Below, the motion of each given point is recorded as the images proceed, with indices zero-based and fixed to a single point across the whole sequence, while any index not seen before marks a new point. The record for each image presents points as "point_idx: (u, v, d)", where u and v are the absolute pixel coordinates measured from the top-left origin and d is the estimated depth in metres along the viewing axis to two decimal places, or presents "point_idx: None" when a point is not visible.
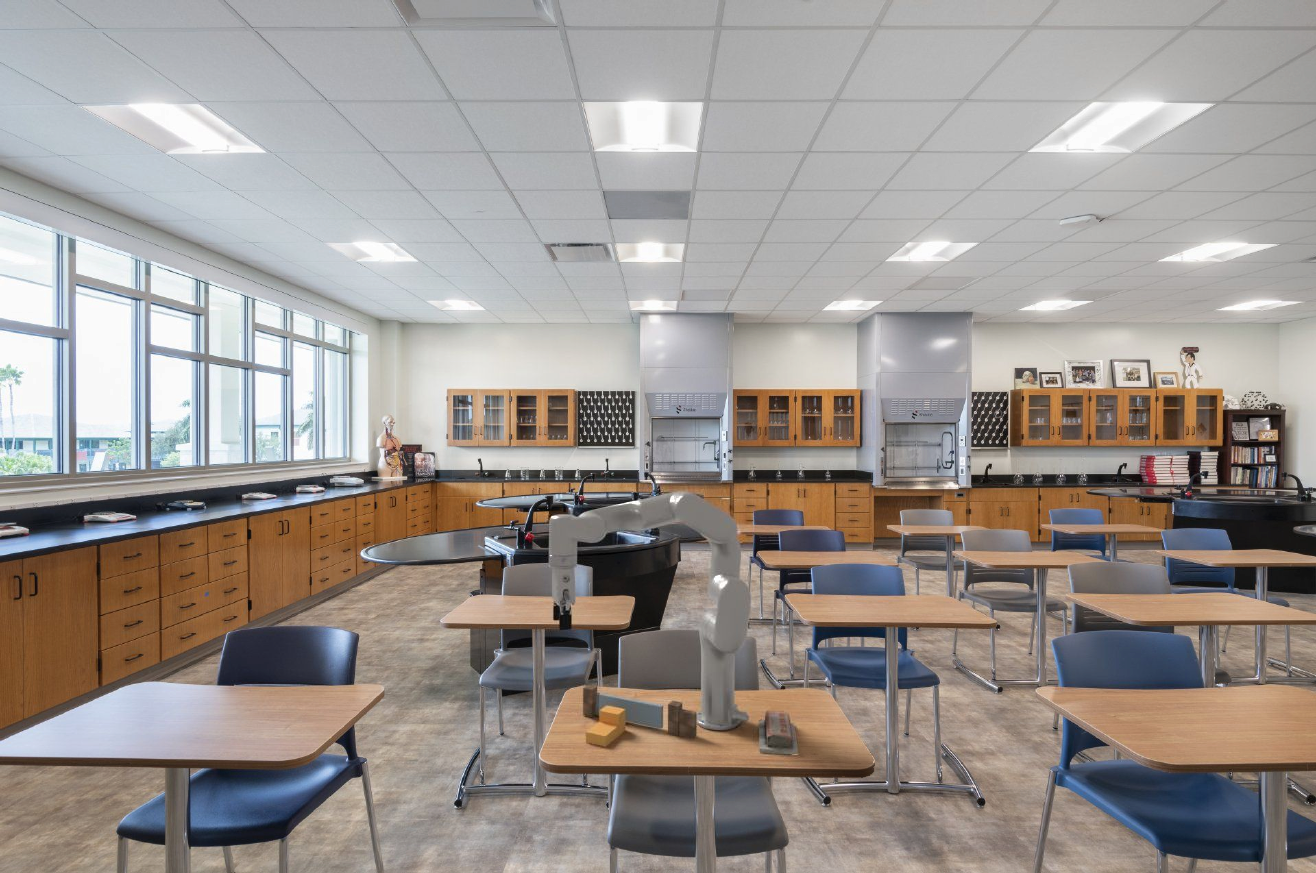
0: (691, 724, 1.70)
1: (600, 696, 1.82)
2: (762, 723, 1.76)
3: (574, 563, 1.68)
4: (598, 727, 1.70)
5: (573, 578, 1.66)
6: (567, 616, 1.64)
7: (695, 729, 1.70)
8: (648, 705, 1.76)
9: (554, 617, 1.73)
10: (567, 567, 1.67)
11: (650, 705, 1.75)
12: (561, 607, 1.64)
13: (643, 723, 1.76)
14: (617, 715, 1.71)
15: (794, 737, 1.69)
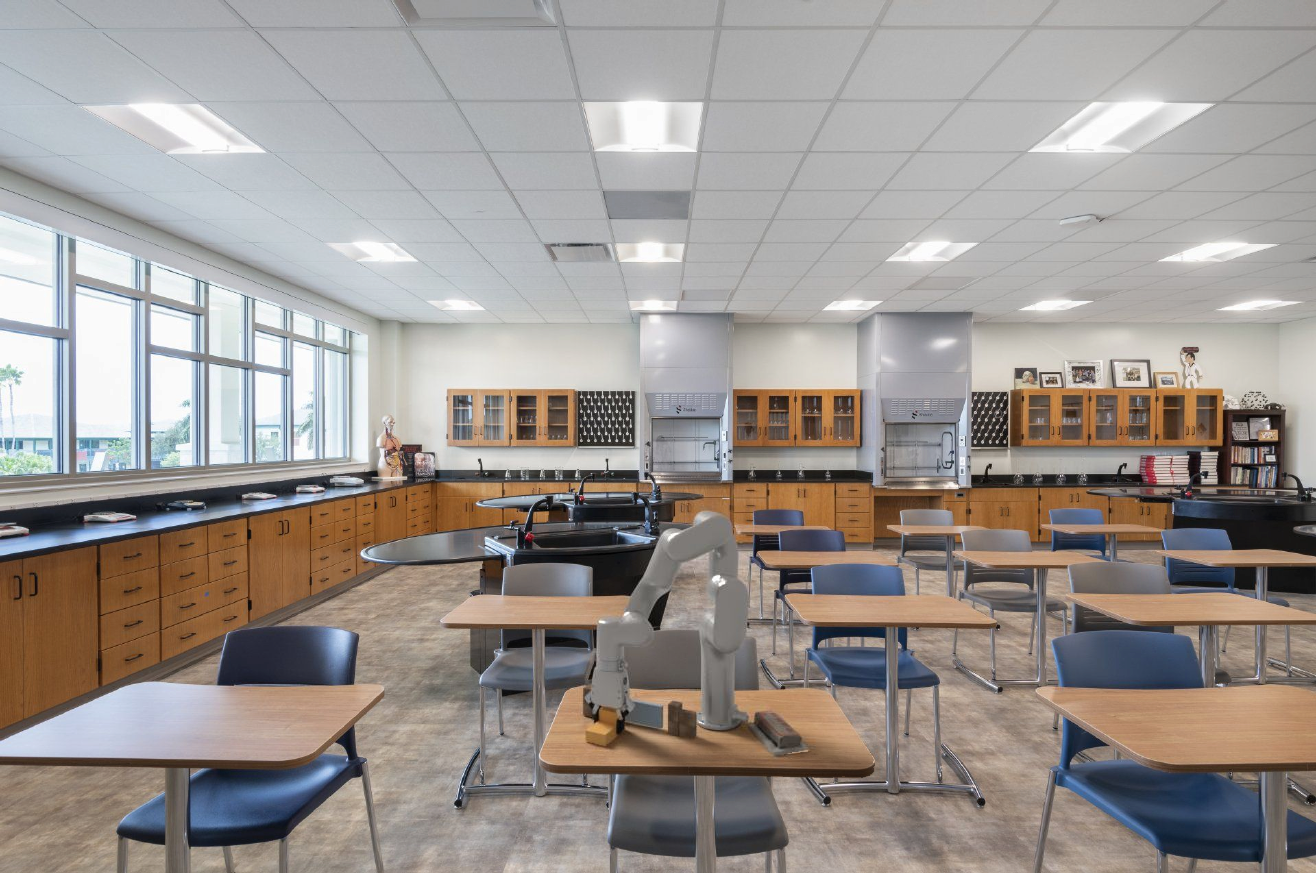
0: (691, 724, 1.70)
1: None
2: (754, 726, 1.75)
3: None
4: (598, 725, 1.70)
5: None
6: (624, 719, 1.71)
7: (695, 729, 1.70)
8: (648, 705, 1.76)
9: None
10: (623, 669, 1.72)
11: (650, 705, 1.75)
12: (620, 712, 1.70)
13: (643, 723, 1.76)
14: None
15: None
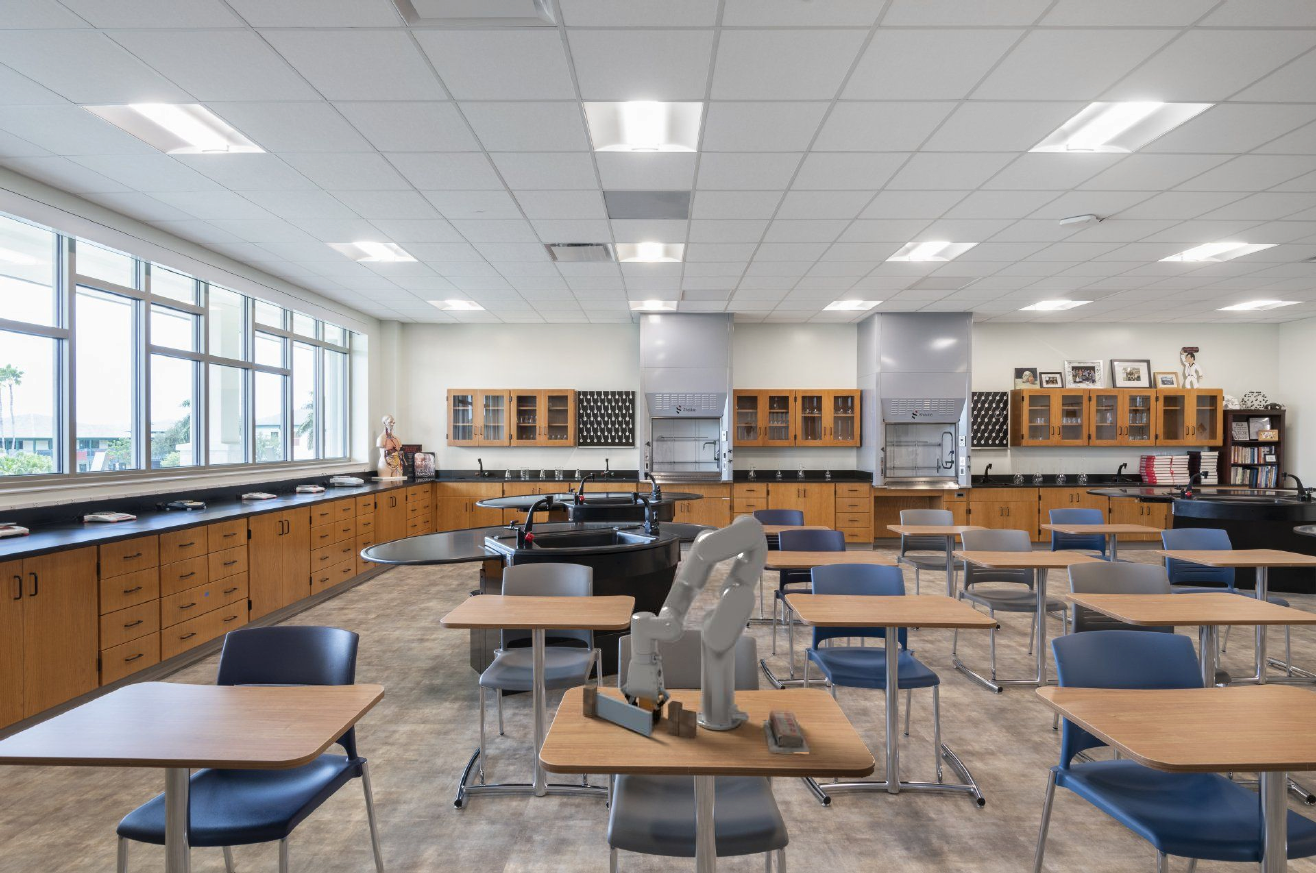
0: (691, 724, 1.70)
1: (599, 696, 1.82)
2: (767, 723, 1.76)
3: None
4: None
5: None
6: (660, 709, 1.79)
7: (695, 729, 1.70)
8: (638, 711, 1.72)
9: None
10: (657, 662, 1.80)
11: (639, 711, 1.71)
12: (656, 702, 1.78)
13: (634, 728, 1.73)
14: None
15: (801, 736, 1.69)
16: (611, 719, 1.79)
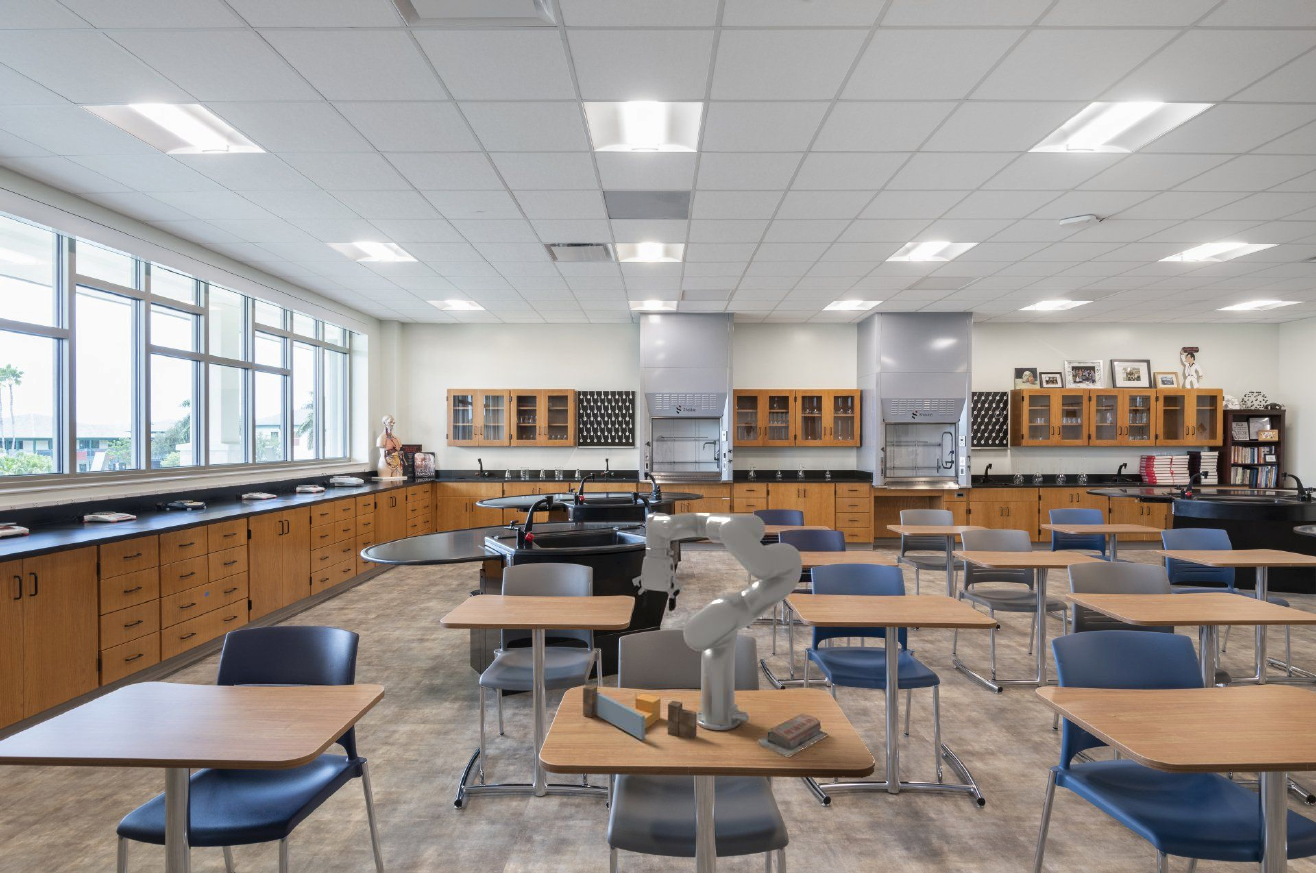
0: (691, 724, 1.70)
1: (598, 696, 1.82)
2: None
3: None
4: None
5: (673, 566, 1.96)
6: (675, 598, 1.93)
7: (695, 729, 1.70)
8: (632, 713, 1.70)
9: (642, 605, 1.96)
10: (669, 557, 1.95)
11: (633, 713, 1.70)
12: (671, 591, 1.92)
13: (628, 731, 1.71)
14: (652, 703, 1.79)
15: (807, 743, 1.65)
16: (609, 719, 1.78)
